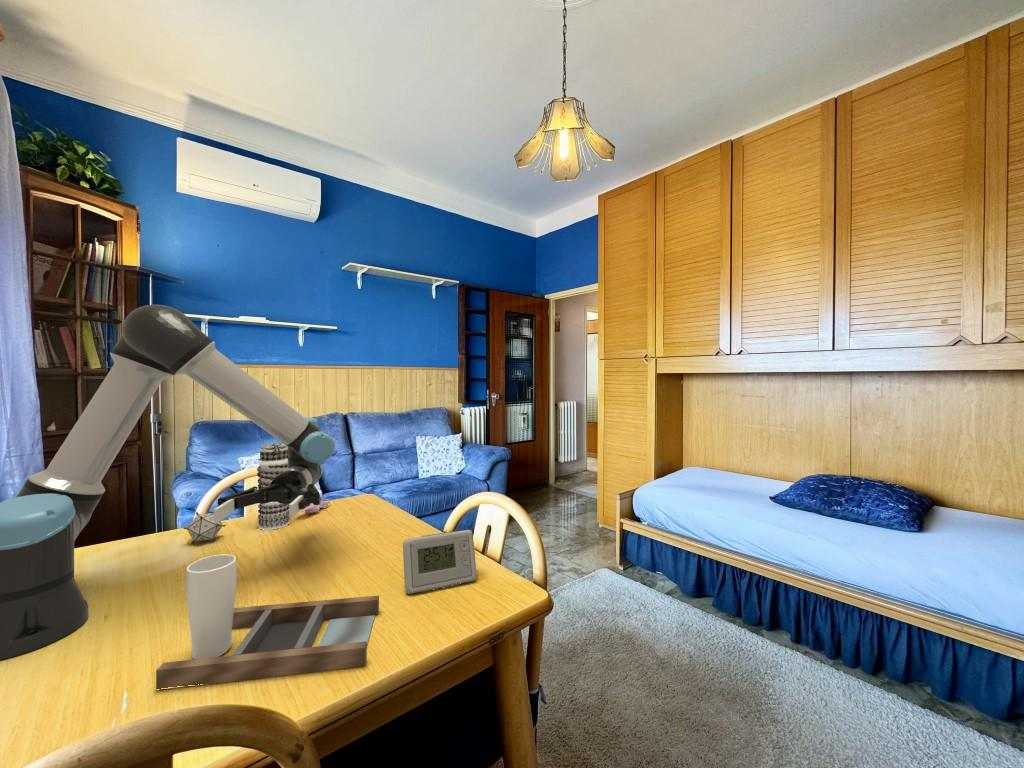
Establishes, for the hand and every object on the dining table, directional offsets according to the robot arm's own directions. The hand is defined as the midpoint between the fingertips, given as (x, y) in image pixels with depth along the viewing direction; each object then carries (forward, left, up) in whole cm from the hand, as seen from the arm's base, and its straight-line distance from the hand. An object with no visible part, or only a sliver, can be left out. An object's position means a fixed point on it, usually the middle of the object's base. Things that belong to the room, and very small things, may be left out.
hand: (253, 513), depth 80 cm
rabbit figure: (-5, +57, -19) cm, 60 cm away
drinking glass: (-1, -14, -19) cm, 23 cm away
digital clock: (+37, +3, -19) cm, 41 cm away
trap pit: (+11, -14, -18) cm, 25 cm away
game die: (-27, +37, -19) cm, 49 cm away
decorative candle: (-13, +47, -19) cm, 52 cm away
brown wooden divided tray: (+11, -14, -18) cm, 25 cm away
